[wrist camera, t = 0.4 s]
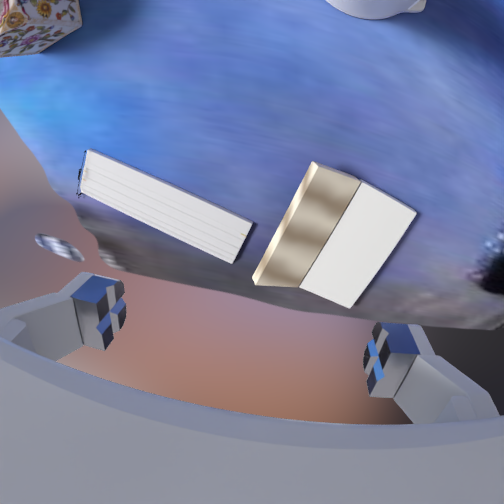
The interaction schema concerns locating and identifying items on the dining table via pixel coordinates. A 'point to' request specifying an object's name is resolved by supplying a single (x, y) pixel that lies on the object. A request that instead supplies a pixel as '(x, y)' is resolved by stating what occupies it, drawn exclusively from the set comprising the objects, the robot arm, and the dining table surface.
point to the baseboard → (164, 206)
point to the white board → (358, 245)
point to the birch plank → (306, 226)
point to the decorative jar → (35, 24)
